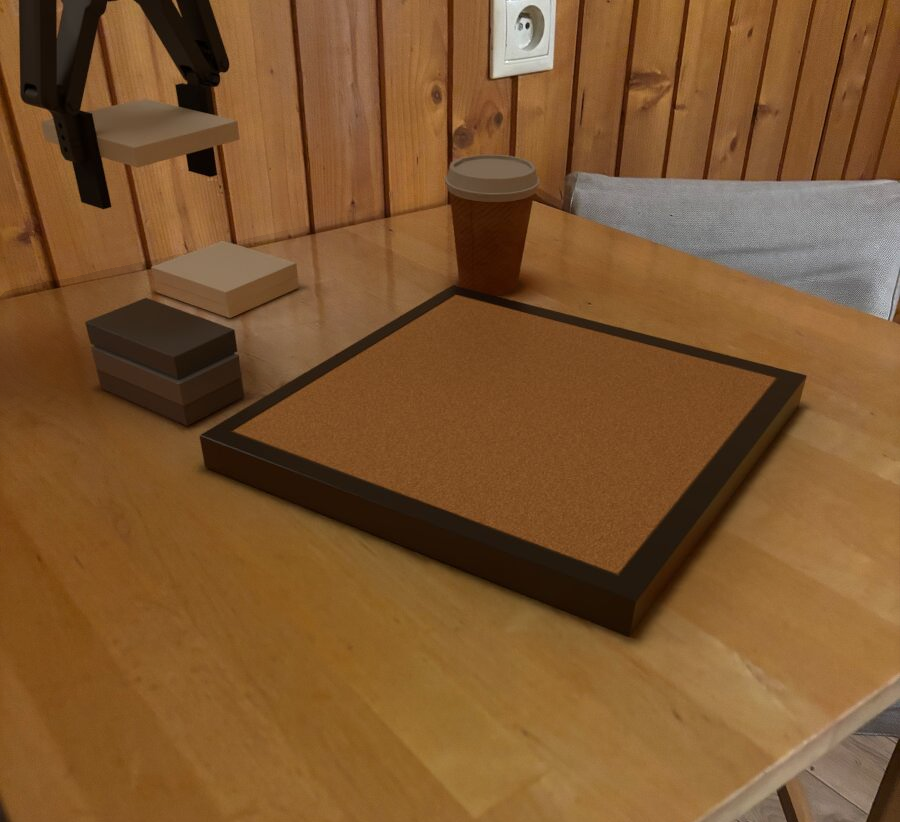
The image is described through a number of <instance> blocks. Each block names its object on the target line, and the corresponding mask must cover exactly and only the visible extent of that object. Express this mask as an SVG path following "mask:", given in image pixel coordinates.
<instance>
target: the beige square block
mask: <svg viewBox="0 0 900 822" xmlns="http://www.w3.org/2000/svg"><path fill="white" fill-rule="evenodd" d="M150 270H151V274H152V279H153V282H154V287H155V292H156V293H157V294H161V295H163V296H166V297H168V298H172V299H175V300H178V301H180V302H183V303H186V304H189V305H190V306H191V305H192V306H194V307H197V308H199V309H202V310H204V311H208V312H211V313H214V314H217V315H220V316H223V317H224V318H225V317H226V318H228V319H231V318H233V317H236V316H239V315H241V314H242V313H245V312H247V311H250V310H252V309H255V308H256V307H259V306H261V305H263V304H266V303H269V302H270V301H273V300H274V299H277V298H279V297H281V296H283V295H286V294H288V293H291V292H293V291H295V290H297V289H299V288H300V286H299V277H298V276H299V275H298V266H297V262H295V261H292V260H288V259H285V258H283V257H282V258H281V257H279V256H275V255H273V254H269V253H265V252H262V251H259V250H256V249H252V248H249V247H245V246H242V245H240V244H236V243H233V242H229V241H225V240H220V241H217V242H215V243H211V244H209V245H207V246H203V247H201V248H199V249H196V250H192V251H190V252H188V253H184V254H182V255H179V256H177V257H174V258H171V259H168V260H166V261H164V262H163V261H162V262H161V263H158V264H155V265H153V266H151V267H150Z"/></svg>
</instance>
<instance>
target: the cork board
mask: <svg viewBox="0 0 900 822" xmlns="http://www.w3.org/2000/svg"><path fill="white" fill-rule="evenodd" d="M807 377H808V375H807V374H804V373H799V372H795V371H792V370H788V369H783V368H780V367H776V366H773V365H768V364H764V363H760V362H756V361H754V360H753V361H752V360H749V359H744V358H741V357H737V356H732V355H729V354H725V353H720V352H717V351H713V350H709V349H705V348H702V347H698V346H693V345H690V344H686V343H681V342H678V341H673V340H670V339H666V338H663V337H657V336H654V335H650V334H646V333H642V332H639V331H635V330H630V329H626V328H623V327H619V326H616V325H611V324H607V323H603V322H599V321H595V320H592V319H587V318H584V317H580V316H575V315H572V314H568V313H565V312H559V311H557V310H553V309H549V308H545V307H541V306H537V305H533V304H530V303H529V304H528V303H525V302H521V301H517V300H513V299H510V298H505V297H502V296H499V295H490V294H486V293H482V292H478V291H474V290H470V289H466V288H462V287H460V286H458V285H454V284H452V285H450V286H448V287H447V288H446V289H444V290H442V291H440V292H439V293H437V294H435V295H434V296H432V297H430V298H428V299H427V300H425V301H423V302H422V303H420V304H419V305H417V306H415V307H413V308H411V309H410V310H408V311H406V312H404V313H403V314H400V316H398V317H396V318H394V319H393V320H391V321H389V322H388V323H386V324H385V325H383V326H381V327H379V328H378V329H376V330H375V331H373V332H371V333H369V334H368V335H366V336H365V337H363V338H361V339H359V340H357V341H356V342H354V343H353V344H351V345H349V346H348V347H345V348H344V349H342V350H341V351H339V352H338V353H336V354H334V355H332V356H331V357H329V358H327V359H325V360H324V361H322V362H320V363H319V364H317V365H315V366H314V367H312V368H311V369H309V370H307V371H306V372H304V373H302V374H301V375H298V376H297V377H295V378H293V379H292V380H290V381H289V382H287V383H285V384H284V385H282V386H280V387H279V388H276V389H275V390H273V391H272V392H270V393H269V394H267V395H265V396H263V397H262V398H260V399H258V400H256V401H255V402H254V403H251V404H250V405H248V406H247V407H245V408H243V409H241V410H240V411H238V412H236V413H234V414H233V415H232V416H229V417H228V418H227V419H225V420H223V421H221V422H220V423H218V424H216V425H215V426H213V427H211V428H210V429H208V430H206V431H204V432H202V433H201V434H200V435H199V440H200V448H201V452H202V459H203V464H204V468H206V469H207V470H211V471H214V472H216V473H219V474H221V475H224V476H226V477H228V478H231V479H234V480H236V481H238V482H241V483H244V484H246V485H248V486H251V487H253V488H256V489H258V490H261V491H264V492H267V493H268V494H272V495H274V496H277V497H278V498H281V499H283V500H287V501H289V502H291V503H294V504H296V505H298V506H301V507H304V508H306V509H309V510H311V511H313V512H315V513H316V512H317V513H319V514H321V515H324V516H327V517H329V518H332V519H333V520H336V521H339V522H341V523H344V524H347V525H349V526H352V527H355V528H357V529H359V530H361V531H363V532H367V533H369V534H371V535H373V536H377V537H379V538H382V539H384V540H387V541H388V542H392V543H394V544H397V545H399V546H402V547H404V548H406V549H409V550H412V551H414V552H417V553H419V554H422V555H424V556H427V557H429V558H432V559H434V560H437V561H439V562H442V563H444V564H447V565H449V566H451V567H455V568H457V569H459V570H462V571H463V572H466V573H469V574H472V575H474V576H477V577H479V578H482V579H485V580H487V581H489V582H492V583H494V584H497V585H499V586H502V587H505V588H507V589H509V590H512V591H515V592H517V593H519V594H522V595H525V596H526V597H529V598H532V599H535V600H536V601H540V602H541V603H545V604H546V605H550V606H552V607H554V608H558V609H560V610H562V611H565V612H567V613H570V614H572V615H574V616H577V617H580V618H581V619H584V620H588V621H590V622H592V623H595V624H598V625H600V626H602V627H605V628H608V629H610V630H613V631H615V632H617V633H619V634H622V635H625V636H627V637H631V635H632V634H633V633H634V631H636V628H638V626H639V624H640V623H641V621H643V619H644V617H645V616H646V615H647V614H648V612H649V611H650V609H651V608H652V606H653V605H654V604H655V602H656V601H657V600H658V598H659V597H660V596H661V594H662V593H663V592H664V590H665V589H666V587H668V585H669V583H670V582H671V580H672V579H673V578H674V577H675V575H676V574H677V572H678V571H679V570H680V568H681V567H682V565H684V563H685V562H686V560H687V559H688V557H689V556H690V555H691V553H692V552H693V550H694V549H695V548H696V546H697V545H698V544H699V542H700V541H701V540H702V538H704V535H705V534H706V533H707V531H708V530H709V528H711V526H712V525H713V523H714V522H715V520H716V519H717V518H718V516H719V515H720V513H721V512H722V511H723V509H724V508H725V507H726V505H727V504H728V502H729V501H730V500H731V499H732V497H733V496H734V494H735V493H736V492H737V490H738V489H739V487H740V486H741V485H742V484H743V482H744V481H745V480H746V478H747V476H749V474H750V472H751V471H752V470H753V468H754V467H755V466H756V464H757V463H758V462H759V460H760V459H761V458H762V456H763V455H764V453H765V452H766V451H767V450H768V449H769V447H770V445H771V444H772V442H774V440H775V438H776V437H777V436H778V434H779V433H780V431H781V430H782V428H784V427H785V425H786V423H787V422H788V421H789V419H790V418H791V417H792V416H793V414H794V412H795V411H796V410H797V408H798V407H799V406H800V402H801V399H802V395H803V392H804V388H805V385H806V380H807Z"/></svg>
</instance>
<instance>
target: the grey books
mask: <svg viewBox="0 0 900 822" xmlns="http://www.w3.org/2000/svg"><path fill="white" fill-rule="evenodd" d="M84 324H85V328H86V331H87V335H88V339H89V343H90V344H91V345H92V346H91V347H90V349H91V353H92V357H93V358H92V359H93V362H94V365H95V369H96V373H97V377H98V380H99V385H100V388H101V389H102V390H103V391H106V392H108V393H111V394H113V395H116V396H118V397H120V398H122V399H124V400H127V401H129V402H131V403H134V404H136V405H138V406H140V407H143V408H145V409H148V410H150V411H152V412H154V413H157V414H159V415H161V416H163V417H166V418H168V419H170V420H173V421H175V422H177V423H179V424H182V425H184V426H186V427H188V426H190V425H192V424H194V423H196V422H198V421H200V420H201V419H203V418H205V417H207V416H209V415H211V414H213V413H215V412H217V411H219V410H221V409H223V408H224V407H225V408H226V407H227V406H229V405H230V404H232V403H234V402H236V401H238V400H241V399H242V398H244V397H245V393H244V384H243V379H242V377H243V374H242V369H241V360H240V355H239V354H236V353H237V352H238V345H237V337H236V331H235V329H234V328H232V327H228V326H226V325H223V324H220V323H218V322H214V321H212V320H209V319H206V318H204V317H201V316H198V315H195V314H193V313H190V312H187V311H184V310H181V309H179V308H176V307H173V306H170V305H168V304H165V303H162V302H159V301H156V300H153V299H151V298H148V297H144V298H142V299H139V300H137V301H134V302H132V303H129V304H126V305H124V306H122V307H119V308H117V309H114V310H111V311H108V312H107V313H104V314H101V315H98V316H96V317H94V318H91V319H89V320H86V321H85V322H84Z"/></svg>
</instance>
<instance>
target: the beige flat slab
mask: <svg viewBox="0 0 900 822" xmlns="http://www.w3.org/2000/svg"><path fill="white" fill-rule="evenodd" d="M86 112H89V113H92V115H93V120H94V125H95V130H96V135H97V141H98V146H99V151H100V156H101V158H102V159H106V160H107V159H108V160H109V161H114V162H117V163H121V164H124V165H127V166H131V167H134V168H142V167H145V166H148V165H152V164H155V163H160V162H163V161H167V160H170V159H174V158H178V157H182V156H186V154H189V153H193V152H196V151H200V150H203V149H207V148H211V147H214V148H215V147H218V146H221V145H225V144H229V143H233V142H235V141H239V140H240V130H239V122H238V120H236V119H232V118H228V117H224V116H220V115H216V114H215V115H212V114H207V113H203V112H199V111H195V110H191V109H186V108H182V107H179V106H178V105H174V104H169V103H165V102H160V101H156V100H154V99H153V100H152V99H148V98H142V99H138V100H132V101H128V102H124V103H119V104H115V105H109V106H105V107H102V108H101V107H100V108H96V109H92V110H88V111H86ZM40 125H41V128H42V134H43V137H44V141H45V142H47V143H52V144H55V145H58V146H59V145H60V144H59V141H58V137H57V133H56V129H55V124H54V120H53V118H51V119H47V120H42V121H40Z"/></svg>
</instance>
